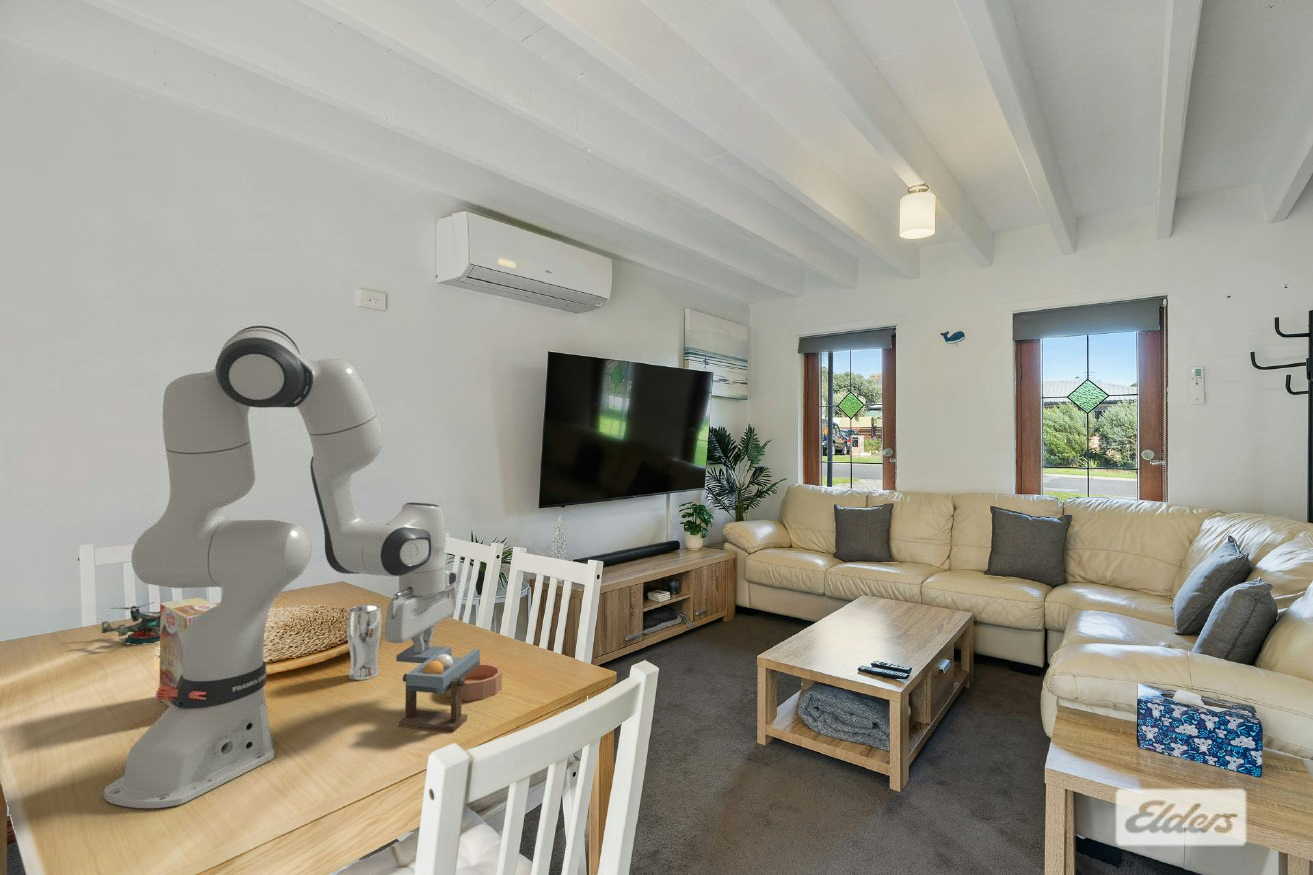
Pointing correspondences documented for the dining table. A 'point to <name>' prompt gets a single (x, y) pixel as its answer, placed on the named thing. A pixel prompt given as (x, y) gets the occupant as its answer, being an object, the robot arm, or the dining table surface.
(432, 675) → the tipping trough
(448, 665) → the cream ball
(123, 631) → the toy helicopter
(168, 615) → the coffeecake box
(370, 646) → the beer glass
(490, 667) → the round terracotta tray
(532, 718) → the dining table surface
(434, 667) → the orange ball
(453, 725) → the trough stand
